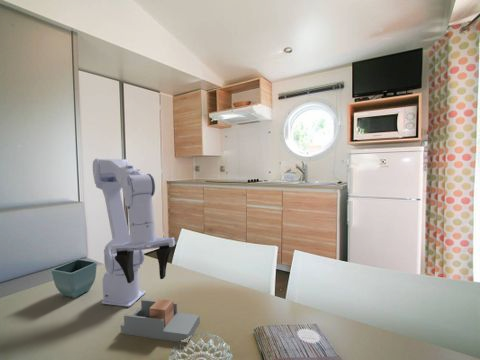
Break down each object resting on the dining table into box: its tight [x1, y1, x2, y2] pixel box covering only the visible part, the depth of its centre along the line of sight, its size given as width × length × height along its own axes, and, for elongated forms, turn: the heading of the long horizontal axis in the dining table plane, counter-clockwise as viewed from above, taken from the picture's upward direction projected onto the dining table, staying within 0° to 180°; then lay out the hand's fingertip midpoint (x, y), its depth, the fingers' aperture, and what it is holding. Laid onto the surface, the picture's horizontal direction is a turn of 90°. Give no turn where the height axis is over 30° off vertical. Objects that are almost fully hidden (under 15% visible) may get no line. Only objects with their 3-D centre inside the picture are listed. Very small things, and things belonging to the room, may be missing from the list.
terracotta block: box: [150, 298, 174, 327], centre depth 58 cm, size 4×4×4 cm
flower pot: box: [51, 259, 98, 299], centre depth 76 cm, size 9×9×9 cm
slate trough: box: [120, 299, 201, 343], centre depth 58 cm, size 17×7×4 cm, turn 78°
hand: (147, 279), depth 58 cm, fingers open, 7 cm apart
